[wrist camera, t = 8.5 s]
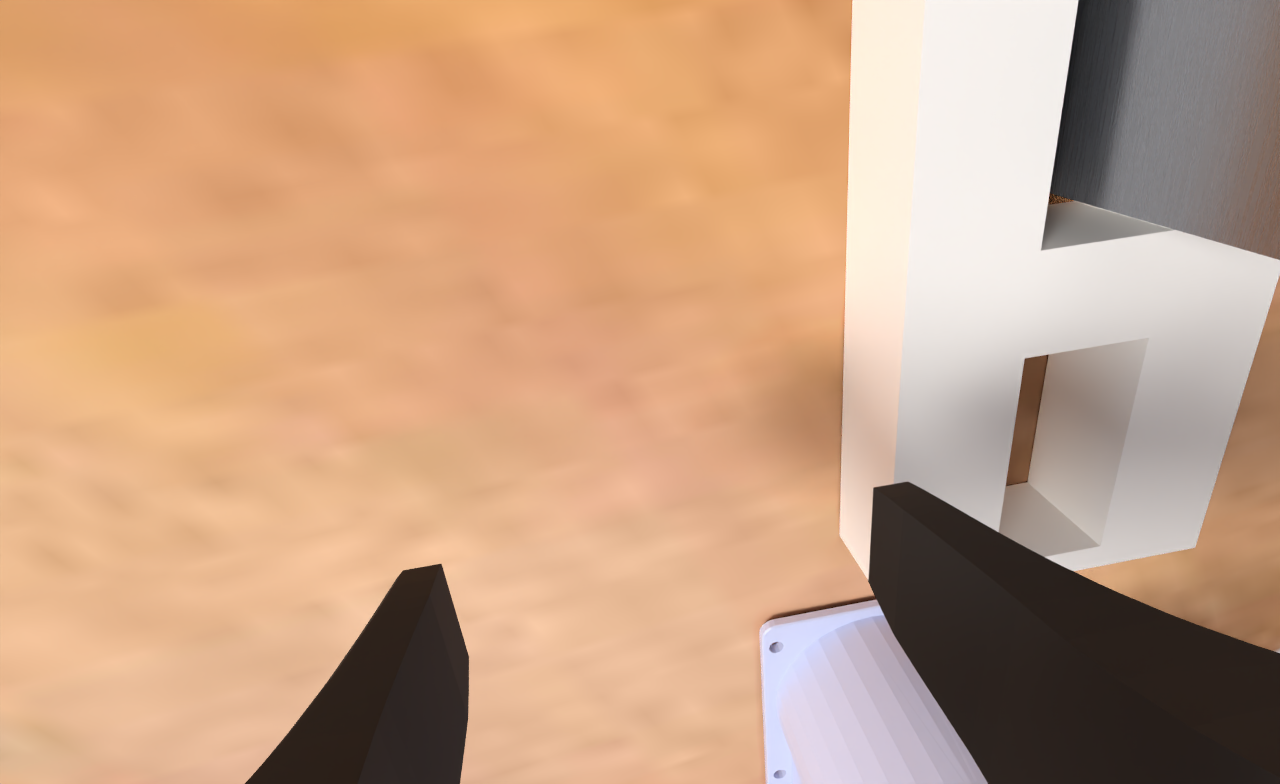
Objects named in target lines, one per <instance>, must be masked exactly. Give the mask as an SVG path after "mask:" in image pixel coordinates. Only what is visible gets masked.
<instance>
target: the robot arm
mask: <svg viewBox="0 0 1280 784" xmlns="http://www.w3.org/2000/svg"><path fill="white" fill-rule="evenodd" d="M868 582H869V584H870V586H871V588H872V590H873V593H874V595H875V597H876V600H871V601H866V602H861V603H856V604H850V605H845V606H840V607H835V608H830V609H824V610H819V611H814V612H809V613H804V614H798V615H793V616H788V617H783V618H778V619H772V620H769V621H767V622H766V623H764V624H763V625H762V627H761V628H760V632H759V634H760V657H761V681H762V704H763V728H764V751H765V775H766V784H1280V653H1277V652H1274V651H1271V650H1268V649H1264V648H1261V647H1258V646H1255V645H1253V644H1250V643H1247V642H1244V641H1241V640H1238V639H1236V638H1233V637H1230V636H1227V635H1224V634H1221V633H1218V632H1216V631H1213V630H1210V629H1207V628H1204V627H1201V626H1199V625H1196V624H1194V623H1191V622H1188V621H1186V620H1183V619H1180V618H1178V617H1175V616H1173V615H1170V614H1168V613H1165V612H1163V611H1161V610H1158V609H1156V608H1153V607H1151V606H1149V605H1146V604H1144V603H1141V602H1139V601H1137V600H1134V599H1132V598H1130V597H1127V596H1125V595H1122V594H1120V593H1118V592H1116V591H1113V590H1111V589H1109V588H1107V587H1105V586H1102V585H1100V584H1098V583H1096V582H1094V581H1092V580H1090V579H1088V578H1086V577H1084V576H1082V575H1079V574H1077V573H1075V572H1073V571H1071V570H1069V569H1067V568H1065V567H1063V566H1061V565H1059V564H1057V563H1055V562H1053V561H1051V560H1049V559H1047V558H1045V557H1044V556H1042V555H1040V554H1038V553H1036V552H1034V551H1032V550H1030V549H1028V548H1026V547H1025V546H1023V545H1021V544H1019V543H1017V542H1015V541H1014V540H1012V539H1010V538H1008V537H1006V536H1004V535H1003V534H1001V533H999V532H997V531H996V530H994V529H992V528H990V527H988V526H987V525H985V524H983V523H981V522H980V521H978V520H976V519H974V518H973V517H971V516H969V515H967V514H966V513H964V512H962V511H960V510H959V509H957V508H955V507H954V506H952V505H950V504H948V503H947V502H945V501H943V500H941V499H940V498H938V497H936V496H934V495H933V494H931V493H929V492H927V491H925V490H924V489H922V488H920V487H918V486H916V485H914V484H912V483H910V482H902V483H896V484H891V485H885V486H879V487H874V488H873V503H872V522H871V541H870V561H869V580H868ZM775 642H777V643H776V644H772V643H775ZM468 696H469V656H468V652H467V649H466V646H465V642H464V639H463V636H462V632H461V629H460V625H459V622H458V619H457V615H456V612H455V608H454V605H453V602H452V598H451V595H450V591H449V588H448V585H447V581H446V578H445V575H444V571H443V568H442V564H438V565H432V566H426V567H421V568H415V569H409V570H404V571H402V572H401V574H400V575H399V576H398V578H397V579H396V581H395V582H394V584H393V585H392V587H391V588H390V590H389V591H388V593H387V594H386V596H385V598H384V599H383V601H382V602H381V604H380V605H379V607H378V608H377V610H376V611H375V613H374V615H373V616H372V618H371V619H370V621H369V622H368V624H367V625H366V627H365V628H364V630H363V631H362V633H361V634H360V636H359V637H358V639H357V640H356V642H355V643H354V645H353V646H352V647H351V649H350V650H349V652H348V653H347V655H346V656H345V657H344V659H343V660H342V662H341V663H340V665H339V666H338V667H337V669H336V670H335V672H334V673H333V675H332V676H331V677H330V679H329V680H328V682H327V683H326V684H325V686H324V687H323V688H322V690H321V691H320V692H319V694H318V695H317V696H316V698H315V699H314V700H313V701H312V703H311V704H310V705H309V707H308V708H307V709H306V711H305V712H304V713H303V715H302V716H301V717H300V718H299V720H298V721H297V722H296V724H295V725H294V726H293V728H292V729H291V730H290V731H289V733H288V734H287V735H286V736H285V738H284V739H283V740H282V741H281V742H280V744H279V745H278V746H277V747H276V748H275V750H274V751H273V752H272V753H271V755H270V756H269V757H268V758H267V759H266V760H265V762H264V763H263V764H262V765H261V766H260V767H259V769H258V770H257V771H256V772H255V773H254V774H253V775H252V776H251V777H250V779H249V780H248V781H247V782H246V783H245V784H460V778H461V770H462V763H463V755H464V747H465V739H466V731H467V723H468Z"/></svg>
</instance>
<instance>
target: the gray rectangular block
mask: <svg viewBox="0 0 1280 784" xmlns="http://www.w3.org/2000/svg"><path fill="white" fill-rule="evenodd" d="M1050 193H1051V194H1054V195H1057V196H1061V197H1064V198H1068V199H1071V200H1075V201H1078V202H1081V203H1085V204H1088V205H1092V206H1095V207H1099V208H1102V209H1106V210H1109V211H1112V212H1116V213H1119V214H1123V215H1126V216H1130V217H1133V218H1137V219H1140V220H1143V221H1147V222H1150V223H1154V224H1157V225H1161V226H1164V227H1168V228H1171V229H1174V230H1178V231H1181V232H1185V233H1188V234H1192V235H1195V236H1199V237H1202V238H1205V239H1209V240H1212V241H1216V242H1219V243H1223V244H1226V245H1230V246H1233V247H1236V248H1240V249H1243V250H1247V251H1250V252H1254V253H1257V254H1260V255H1264V256H1267V257H1271V258H1274V259H1278V260H1280V0H1078V7H1077V14H1076V20H1075V27H1074V34H1073V40H1072V47H1071V54H1070V60H1069V67H1068V74H1067V80H1066V87H1065V94H1064V100H1063V107H1062V114H1061V120H1060V127H1059V134H1058V140H1057V147H1056V154H1055V160H1054V167H1053V174H1052V180H1051V187H1050Z"/></svg>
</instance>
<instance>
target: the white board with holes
mask: <svg viewBox="0 0 1280 784" xmlns="http://www.w3.org/2000/svg"><path fill="white" fill-rule="evenodd" d="M1077 7H1078V0H852V41H851V82H850V123H849V164H848V205H847V246H846V287H845V329H844V370H843V411H842V452H841V493H840V534H839V535H840V537H841V538H842V540H843V542H844V543H845V545H846V546H847V548H848V549H849V551H850V552H851V554H852V556H853V557H854V559H855V560H856V562H857V563H858V565H859V567H860V568H861V570H862V571H863V573H864V574H865V576H866V578H867V579H868V580H869V561H870V541H871V522H872V503H873V488H874V487H879V486H885V485H891V484H896V483H902V482H910V483H912V484H914V485H916V486H918V487H920V488H922V489H924V490H925V491H927V492H929V493H931V494H933V495H934V496H936V497H938V498H940V499H941V500H943V501H945V502H947V503H948V504H950V505H952V506H954V507H955V508H957V509H959V510H960V511H962V512H964V513H966V514H967V515H969V516H971V517H973V518H974V519H976V520H978V521H980V522H981V523H983V524H985V525H987V526H988V527H990V528H992V529H994V530H996V531H997V532H999V533H1001V534H1003V535H1004V536H1006V537H1008V538H1010V539H1012V540H1014V541H1015V542H1017V543H1019V544H1021V545H1023V546H1025V547H1026V548H1028V549H1030V550H1032V551H1034V552H1036V553H1038V554H1040V555H1042V556H1044V557H1045V558H1047V559H1049V560H1051V561H1053V562H1055V563H1057V564H1059V565H1061V566H1063V567H1065V568H1067V569H1069V570H1071V571H1077V570H1082V569H1087V568H1092V567H1098V566H1103V565H1108V564H1113V563H1118V562H1123V561H1129V560H1134V559H1139V558H1144V557H1149V556H1154V555H1160V554H1165V553H1170V552H1175V551H1180V550H1185V549H1191V548H1195V546H1196V543H1197V540H1198V537H1199V533H1200V530H1201V527H1202V524H1203V520H1204V517H1205V514H1206V511H1207V507H1208V504H1209V501H1210V498H1211V495H1212V491H1213V488H1214V485H1215V482H1216V478H1217V475H1218V472H1219V469H1220V465H1221V462H1222V459H1223V456H1224V453H1225V449H1226V446H1227V443H1228V440H1229V436H1230V433H1231V430H1232V427H1233V423H1234V420H1235V417H1236V414H1237V411H1238V407H1239V404H1240V401H1241V398H1242V394H1243V391H1244V388H1245V385H1246V381H1247V378H1248V375H1249V372H1250V369H1251V365H1252V362H1253V359H1254V356H1255V352H1256V349H1257V346H1258V343H1259V340H1260V336H1261V333H1262V330H1263V327H1264V323H1265V320H1266V317H1267V314H1268V310H1269V307H1270V304H1271V301H1272V298H1273V294H1274V291H1275V288H1276V285H1277V281H1278V278H1279V275H1280V260H1278V259H1274V258H1271V257H1267V256H1264V255H1260V254H1257V253H1254V252H1250V251H1247V250H1243V249H1240V248H1236V247H1233V246H1230V245H1226V244H1223V243H1219V242H1216V241H1212V240H1209V239H1205V238H1202V237H1199V236H1195V235H1192V234H1188V233H1185V232H1181V231H1178V230H1174V229H1171V228H1168V227H1164V226H1161V225H1157V224H1154V223H1150V222H1147V221H1143V220H1140V219H1137V218H1133V217H1130V216H1126V215H1123V214H1119V213H1116V212H1112V211H1109V210H1106V209H1102V208H1099V207H1095V206H1092V205H1088V204H1085V203H1081V202H1078V201H1075V200H1074V201H1071V202H1064V203H1058V204H1051V205H1048V200H1049V193H1050V187H1051V180H1052V174H1053V167H1054V160H1055V154H1056V147H1057V140H1058V134H1059V127H1060V120H1061V114H1062V107H1063V100H1064V94H1065V87H1066V80H1067V74H1068V67H1069V60H1070V54H1071V47H1072V40H1073V34H1074V27H1075V20H1076V14H1077ZM1048 354H1049V356H1048V362H1047V368H1046V374H1045V380H1044V386H1043V392H1042V398H1041V404H1040V410H1039V416H1038V422H1037V428H1036V434H1035V440H1034V446H1033V452H1032V458H1031V464H1030V470H1029V476H1028V482H1026V483H1021V484H1015V485H1010V486H1006V480H1007V473H1008V466H1009V460H1010V453H1011V446H1012V440H1013V433H1014V426H1015V420H1016V413H1017V406H1018V400H1019V393H1020V386H1021V380H1022V373H1023V366H1024V360H1025V358H1030V357H1036V356H1042V355H1048Z"/></svg>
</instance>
